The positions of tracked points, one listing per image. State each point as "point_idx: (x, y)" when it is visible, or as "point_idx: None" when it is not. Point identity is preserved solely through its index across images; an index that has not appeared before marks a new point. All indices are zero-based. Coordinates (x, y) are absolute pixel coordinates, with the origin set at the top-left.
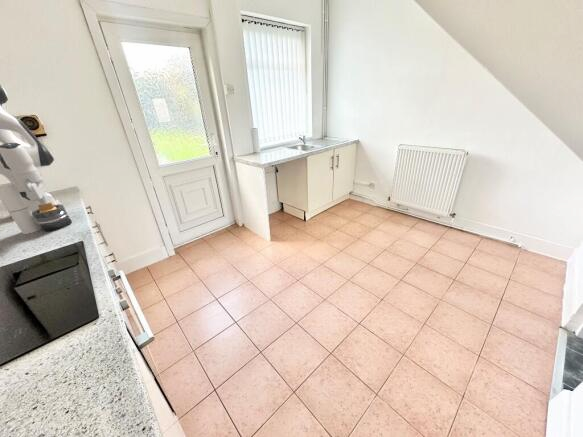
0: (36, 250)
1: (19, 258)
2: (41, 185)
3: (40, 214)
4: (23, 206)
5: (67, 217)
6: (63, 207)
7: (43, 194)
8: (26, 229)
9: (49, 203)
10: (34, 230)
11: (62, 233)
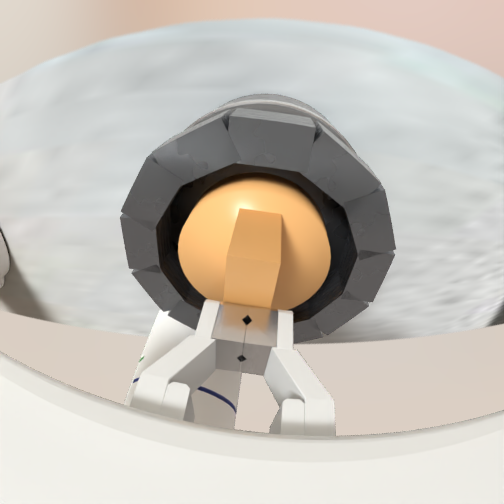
0: (492, 273)
1: (488, 307)
2: (7, 499)
3: (358, 309)
4: (213, 412)
5: (311, 111)
6: (285, 118)
7: (280, 444)
8: None
9: (276, 276)
10: None
11: (439, 175)
